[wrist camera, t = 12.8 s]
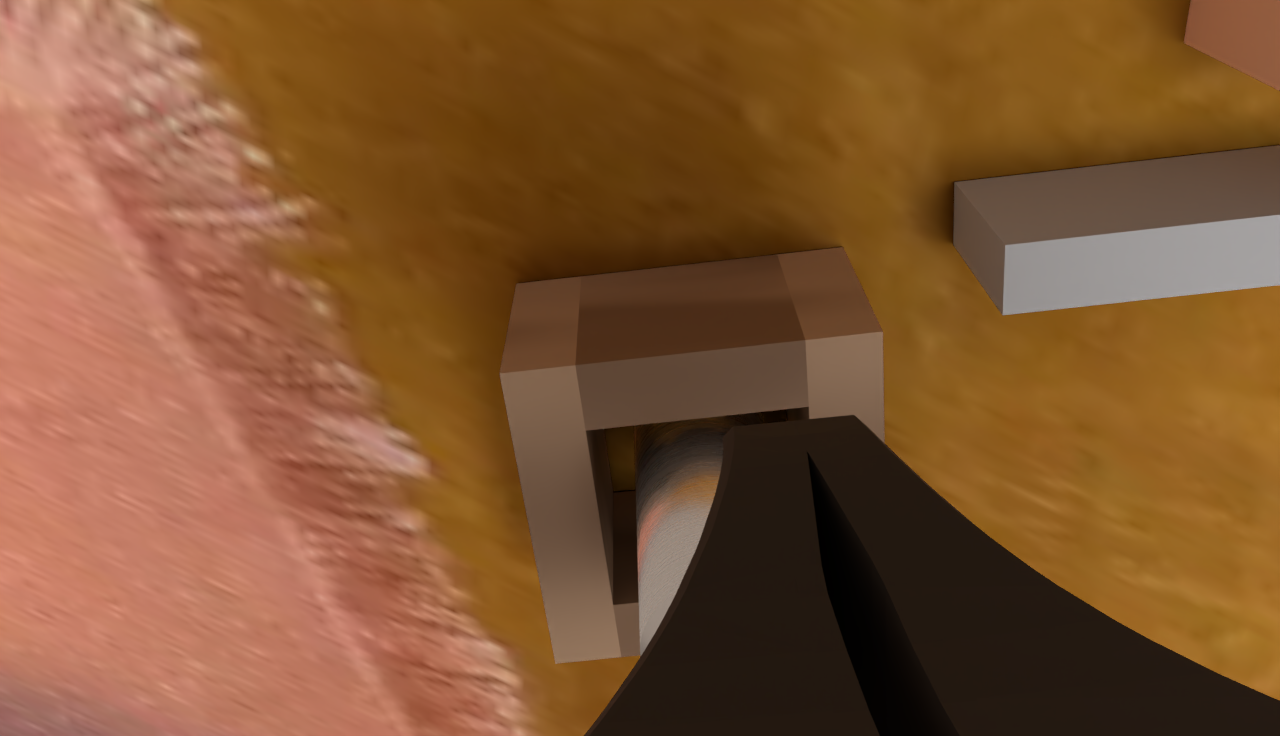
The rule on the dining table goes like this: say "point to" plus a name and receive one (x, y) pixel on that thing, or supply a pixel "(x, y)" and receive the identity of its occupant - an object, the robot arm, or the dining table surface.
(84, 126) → the dining table surface
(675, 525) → the pin
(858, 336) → the square hole block
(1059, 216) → the bay
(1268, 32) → the block
